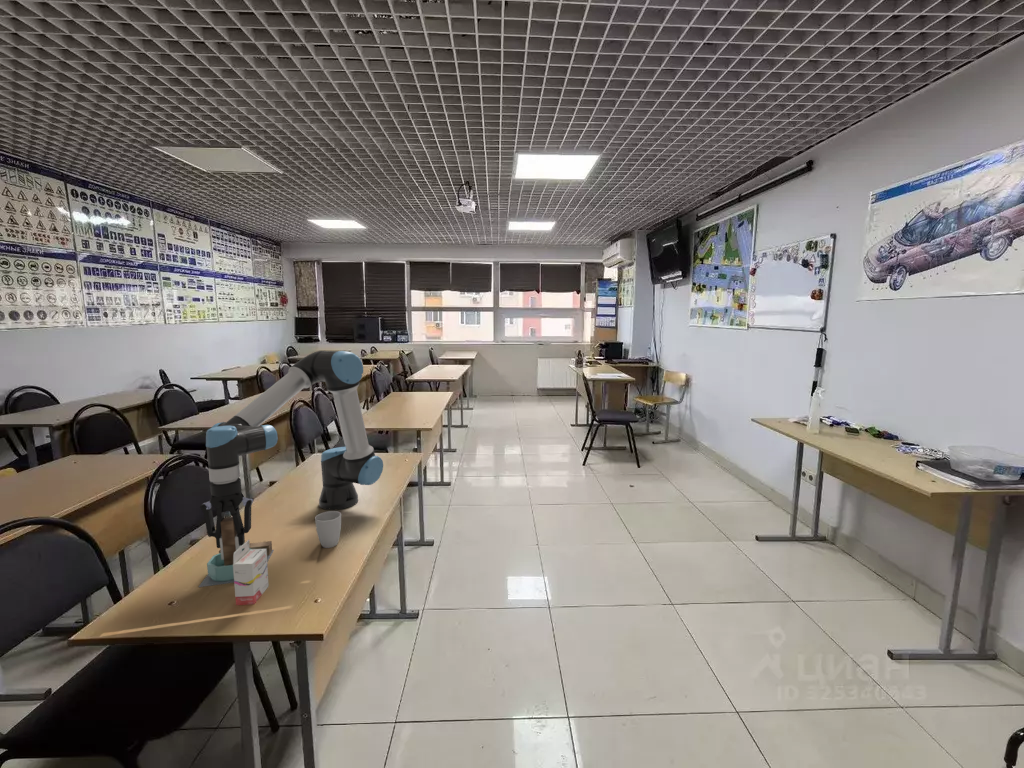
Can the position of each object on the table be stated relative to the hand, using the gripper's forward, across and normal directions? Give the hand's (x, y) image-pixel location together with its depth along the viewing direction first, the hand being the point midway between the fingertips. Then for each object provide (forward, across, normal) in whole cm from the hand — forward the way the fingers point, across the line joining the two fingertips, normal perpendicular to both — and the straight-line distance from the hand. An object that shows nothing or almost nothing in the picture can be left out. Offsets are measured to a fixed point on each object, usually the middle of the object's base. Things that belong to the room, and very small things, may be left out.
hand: (231, 556), depth 132 cm
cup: (+5, -25, -11) cm, 28 cm away
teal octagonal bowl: (+5, 0, 0) cm, 5 cm away
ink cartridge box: (+5, -10, +15) cm, 19 cm away
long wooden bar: (+5, -1, -9) cm, 10 cm away
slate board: (+5, -1, -2) cm, 6 cm away
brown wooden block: (+3, 0, 0) cm, 3 cm away
